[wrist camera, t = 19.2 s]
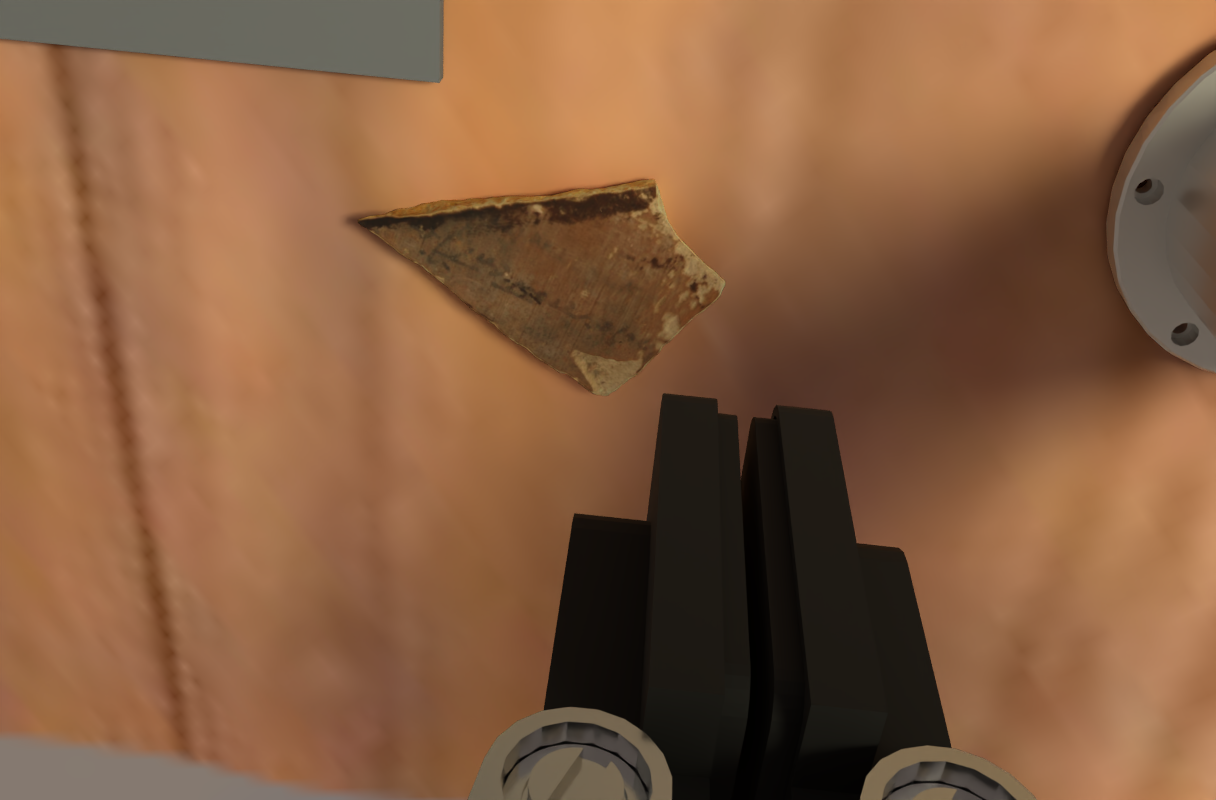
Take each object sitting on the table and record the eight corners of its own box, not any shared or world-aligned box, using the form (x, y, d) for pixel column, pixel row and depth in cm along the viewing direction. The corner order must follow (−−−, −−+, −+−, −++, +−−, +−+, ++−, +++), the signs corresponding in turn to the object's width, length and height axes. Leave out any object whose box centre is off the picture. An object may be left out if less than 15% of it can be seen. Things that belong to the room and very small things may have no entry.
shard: (366, 205, 40) (354, 225, 39) (501, 37, 37) (492, 53, 35) (604, 387, 43) (600, 413, 42) (747, 249, 40) (749, 271, 38)
